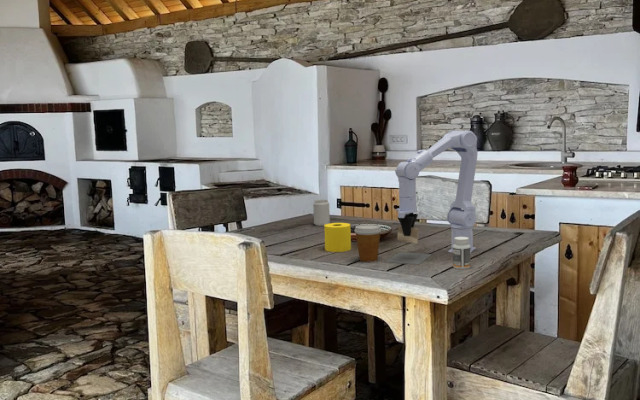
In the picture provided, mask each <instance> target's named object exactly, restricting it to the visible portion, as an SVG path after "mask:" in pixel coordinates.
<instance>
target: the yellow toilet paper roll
mask: <svg viewBox="0 0 640 400" xmlns="http://www.w3.org/2000/svg"><path fill="white" fill-rule="evenodd" d="M323 227H324V230H323V231H324V251H327V252H330V253H344V252H348V251H351V250H352V237H351V236H352V235H351V234H352V231H351V230H352V229H351V223H348V222H332V223H331V222H330V223H329V224H325V225H324V226H323Z"/></svg>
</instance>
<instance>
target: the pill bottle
mask: <svg viewBox="0 0 640 400" xmlns="http://www.w3.org/2000/svg"><path fill="white" fill-rule="evenodd" d="M454 242H455V244H454V245H453V252H452V267H453V268H454V269H458V270H459V269H460V270H467V269H470V268H471V265H472V264H471V253H470V245H469V244H468V242H469V238H468V237H455V238H454Z"/></svg>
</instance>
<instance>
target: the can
mask: <svg viewBox="0 0 640 400" xmlns="http://www.w3.org/2000/svg"><path fill="white" fill-rule="evenodd" d="M312 209H313V224H314V225H315V226H316V227H324V225H325V224H330V223H331V219H330V218H331V216H330V202H328V199H315V200H314V202H313V206H312Z"/></svg>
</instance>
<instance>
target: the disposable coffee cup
mask: <svg viewBox="0 0 640 400" xmlns="http://www.w3.org/2000/svg"><path fill="white" fill-rule="evenodd" d="M381 233H382V229H381V225H378V224H371V223H370V224H366V223H365V224H360V225H359V224H358V225H356V226H355V229H354V234H355V236H356V237H355V238H356V244H357V245H356V246H357V250H358V251H357V252H358V258H359V261H360V262H365V263H367V262H375V261H378V259H379V257H378V256H379V251H380V250H379V247H380V239H381V238H380V237H381Z"/></svg>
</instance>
